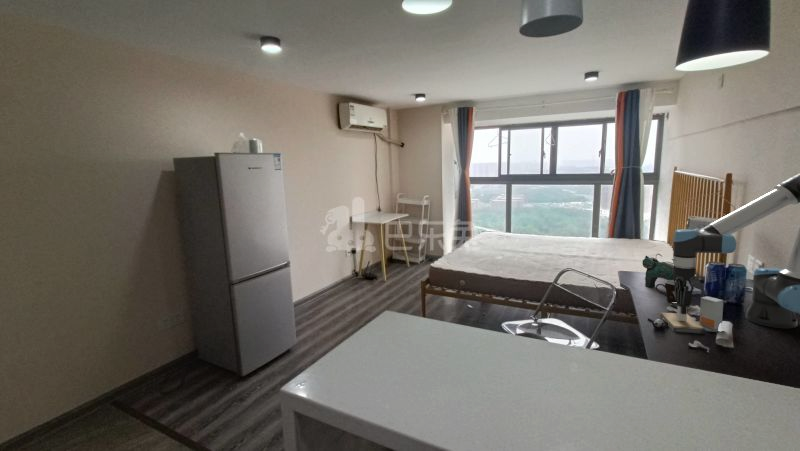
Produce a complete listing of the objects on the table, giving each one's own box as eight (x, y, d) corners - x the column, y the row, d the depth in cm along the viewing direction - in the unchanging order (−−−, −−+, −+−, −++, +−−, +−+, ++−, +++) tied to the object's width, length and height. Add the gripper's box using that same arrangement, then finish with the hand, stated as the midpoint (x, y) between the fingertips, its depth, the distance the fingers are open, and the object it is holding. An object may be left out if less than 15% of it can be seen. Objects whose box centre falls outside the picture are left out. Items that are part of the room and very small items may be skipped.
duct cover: (687, 315, 156) (687, 313, 156) (703, 329, 142) (703, 327, 142) (660, 314, 160) (660, 312, 160) (673, 327, 146) (673, 325, 146)
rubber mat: (713, 323, 151) (713, 322, 151) (724, 332, 142) (724, 331, 142) (696, 322, 153) (696, 321, 153) (706, 331, 144) (706, 330, 144)
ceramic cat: (640, 285, 203) (641, 252, 201) (649, 284, 205) (650, 250, 203) (676, 295, 185) (678, 258, 182) (685, 293, 186) (686, 257, 184)
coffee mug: (688, 301, 175) (689, 282, 174) (682, 306, 171) (683, 286, 169) (661, 296, 185) (662, 278, 184) (654, 300, 180) (655, 281, 179)
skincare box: (698, 324, 150) (700, 297, 148) (705, 322, 151) (707, 295, 149) (715, 329, 144) (716, 301, 142) (722, 328, 145) (723, 300, 143)
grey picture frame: (687, 319, 157) (687, 315, 156) (703, 333, 143) (703, 329, 142) (660, 317, 160) (660, 314, 160) (673, 331, 146) (673, 328, 146)
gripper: (667, 262, 154) (665, 313, 157) (679, 270, 142) (677, 325, 145) (687, 262, 152) (685, 314, 155) (702, 270, 139) (700, 327, 142)
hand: (681, 320), depth 150 cm, fingers closed
